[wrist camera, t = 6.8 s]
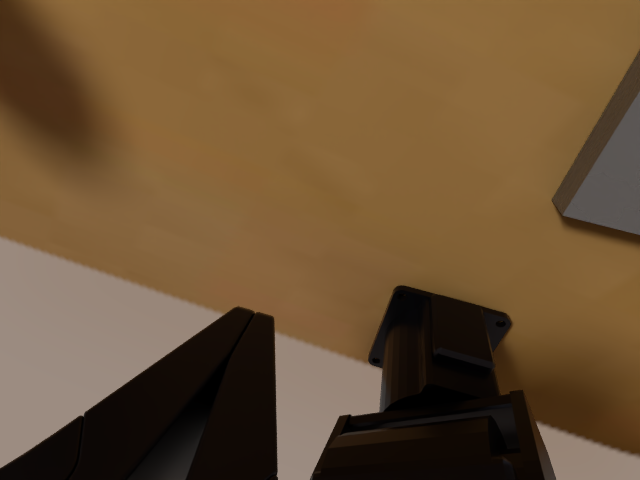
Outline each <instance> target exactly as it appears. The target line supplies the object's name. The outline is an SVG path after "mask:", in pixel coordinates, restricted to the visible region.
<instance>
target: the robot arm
mask: <svg viewBox="0 0 640 480" xmlns="http://www.w3.org/2000/svg"><path fill="white" fill-rule="evenodd" d="M401 293H402V294H405V296H400V295H399V294H401ZM497 321H503V322H497ZM510 325H511V323H510V319H509V316H508V315H507V314H505V313H503V312H499V311H496V310H492V309H488V308H485V307H481V306H479V305H475V304H471V303H467V302H464V301H460V300H456V299H453V298H449V297H445V296H442V295H438V294H433V293H429V292H426V291H422V290H418V289H415V288H411V287H407V286H402V285H401V286H397V287H396V288H395V289H394V290H393V293H392V296H391V298H390V301H389V303H388V306H387V308H386V311H385V314H384V316H383V319H382V321H381V324H380V327H379V329H378V332H377V334H376V337H375V340H374V342H373V345H372V347H371V350H370V352H369V358H368V361H369V363H370V364H371V365H374V366H377V367H380V368H383V371H382V384H381V398H380V411H379V412H378V413H371V414H364V415H357V416H351V415H343V416H339V418H338V420H337V423H336V425H335V427H334V429H333V431H332V433H331V435H330V438H329V440H328V442H327V444H326V446H325V448H324V450H323V453H322V454H321V457H320V459H319V461H318V463H317V465H316V467H315V469H314V472H313V474H312V476H311V478H310V480H556V477H555V474H554V471H553V468H552V465H551V462H550V458H549V455H548V452H547V450H546V447H545V445H544V442H543V440H542V437H541V435H540V432H539V429H538V427H537V424H536V422H535V419H534V417H533V414H532V412H531V409H530V407H529V404H528V402H527V399H526V396H525V394H524V391H523V390H517V391H510V394H506V395H500V390H499V386H498V381H497V377H496V373H495V361H494V357H493V351H494V350H495V348H496V347H497V345H498V344H499V342H500V341H501V339H502V338H503V336H504V335H505V333H506V332H507V330H508V329H509V327H510ZM376 358H378V359H376ZM0 480H278V477H277V424H276V375H275V327H274V317H273V316H271V315H267V314H264V313H260V312H256V313H255V312H254V311H253V310H250V309H246V308H243V307H235V308H233V309H232V310H230V311H229V312H227V313H226V314H225V315H223V316H222V317H220V318H219V319H218V320H216V321H215V322H213V323H212V324H210V325H209V326H207V327H206V328H205V329H203V330H202V331H200V332H199V333H197V334H196V335H195V336H193V337H192V338H190V339H189V340H188V341H186V342H185V343H183V344H182V345H180V346H179V347H177V348H176V349H175V350H173V351H172V352H170V353H169V354H167V355H166V356H165V357H163V358H162V359H160V360H159V361H158V362H156V363H155V364H153V365H152V366H150V367H149V368H148V369H146V370H145V371H143V372H142V373H140V374H139V375H137V376H136V377H135V378H133V379H132V380H130V381H129V382H128V383H126V384H125V385H123V386H122V387H120V388H119V389H117V390H116V391H115V392H113V393H112V394H110V395H109V396H108V397H106V398H105V399H103V400H102V401H100V402H99V403H98V404H96V405H95V406H93V407H92V408H91V409H89V410H88V411H86V412H85V413H84V417H83V416H78V417H77V418H76V419H74V420H73V421H71V422H70V423H69V424H67V425H66V426H64V427H63V428H61V429H60V430H59V431H57V432H56V433H54V434H53V435H51V436H50V437H48V438H47V439H45V440H44V441H42V442H41V443H39V444H38V445H36V446H35V447H34V448H32V449H30V450H29V451H27V452H26V453H24V454H23V455H21V456H20V457H18V458H16V459H15V460H13V461H11V462H10V463H8V464H7V465H5V466H3V467H2V468H0Z"/></svg>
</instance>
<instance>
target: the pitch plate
mask: <svg viewBox="0 0 640 480" xmlns="http://www.w3.org/2000/svg"><path fill="white" fill-rule="evenodd" d="M552 201H553V203H554V204H555V206H556V207H557V208H558V210H559V211H560V213H561V214H562V215H563V216H567V217H571V218H575V219H578V220H582V221H586V222H590V223H594V224H598V225H602V226H606V227H610V228H614V229H618V230H622V231H626V232H630V233H634V234H638V235H640V51H639V52H638V54H637V56H636V58H635V59H634V61H633V63H632V64H631V66H630V68H629V69H628V71H627V73H626V75H625V76H624V78H623V80H622V81H621V83H620V85H619V86H618V88H617V90H616V92H615V93H614V95H613V97H612V98H611V100H610V102H609V103H608V105H607V107H606V109H605V110H604V112H603V114H602V115H601V117H600V119H599V120H598V122H597V124H596V126H595V127H594V129H593V131H592V132H591V134H590V136H589V137H588V139H587V141H586V143H585V144H584V146H583V148H582V149H581V151H580V153H579V154H578V156H577V158H576V160H575V161H574V163H573V165H572V166H571V168H570V170H569V171H568V173H567V175H566V177H565V178H564V180H563V182H562V183H561V185H560V187H559V188H558V190H557V192H556V194H555V195H554V197H553V199H552Z"/></svg>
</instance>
